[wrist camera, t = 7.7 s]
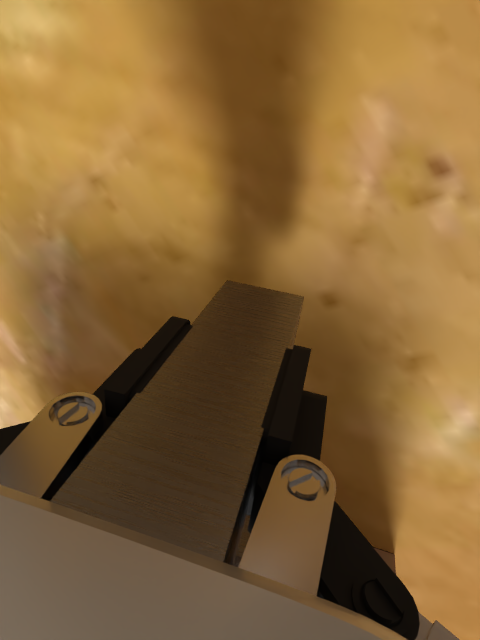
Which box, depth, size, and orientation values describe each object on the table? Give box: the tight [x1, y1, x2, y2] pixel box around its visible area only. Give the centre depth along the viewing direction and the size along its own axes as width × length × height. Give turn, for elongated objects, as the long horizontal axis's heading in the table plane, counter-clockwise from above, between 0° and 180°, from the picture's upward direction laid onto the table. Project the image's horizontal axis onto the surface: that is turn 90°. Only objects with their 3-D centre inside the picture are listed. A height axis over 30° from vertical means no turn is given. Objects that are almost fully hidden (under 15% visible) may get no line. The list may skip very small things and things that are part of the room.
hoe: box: [50, 280, 304, 567], centre depth 13 cm, size 14×5×12 cm, turn 174°
